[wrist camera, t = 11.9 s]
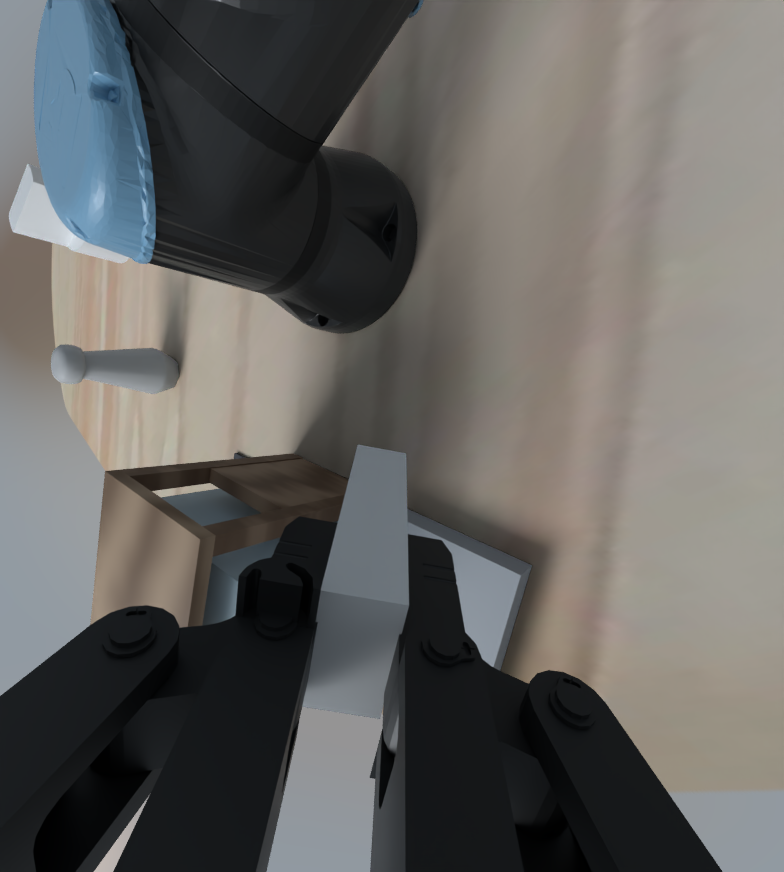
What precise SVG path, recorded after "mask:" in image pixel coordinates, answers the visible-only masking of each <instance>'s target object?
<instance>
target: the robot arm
mask: <svg viewBox="0 0 784 872" xmlns="http://www.w3.org/2000/svg"><path fill="white" fill-rule="evenodd" d="M422 4H423V0H48V1H47V3H46V6H45V10H44V13H43V17H42V20H41V25H40V30H39V35H38V42H37V50H36V60H35V78H34V120H35V134H36V143H37V151H38V158H39V163H40V168H41V173H42V178H43V181H44V185H45V188H46V191H47V194H48V197H49V200H50V202H51V204H52V207H53V209H54V210H55V212H56V214H57V216H58V217H59V219H60V220H61V221H62V223H63V224H64V225H65V226H66V227H67V228H68V229H69V230H70V231H71V232H72V233H73V234H74V235H76V236H77V237H78V238H80V239H82V240H84V241H85V242H87V243H90V244H92V245H95V246H98V247H101V248H104V249H107V250H110V251H112V252H115V253H118V254H121V255H124V256H126V257H129V258H132V259H133V260H134V261H136V262H138V263H142V264H147V263H150V264H154V265H158V266H161V267H165V268H169V269H173V270H176V271H180V272H184V273H188V274H192V275H195V276H199V277H203V278H207V279H210V280H214V281H218V282H221V283H225V284H229V285H232V286H236V287H240V288H243V289H247V290H251V291H255V292H258V293H262V294H265V295H266V296H268V297H269V298H270V299H272V300H273V301H274V302H276V303H277V304H278V305H280V306H281V307H282V308H284V309H285V310H286V311H288V312H289V313H290V314H292V315H293V316H294V317H296V318H297V319H298V320H300V321H301V322H303V323H304V324H306V325H308V326H310V327H313V328H316V329H319V330H324V331H328V332H333V333H350V332H354V331H358V330H360V329H363V328H365V327H367V326H368V325H370V324H372V323H373V322H374V321H376V320H377V319H378V318H379V317H381V316H382V315H383V314H384V313H385V312H386V311H387V310H388V309H389V307H390V306H391V305H392V304H393V302H394V301H395V300H396V298H397V297H398V295H399V293H400V292H401V290H402V288H403V286H404V284H405V282H406V280H407V277H408V275H409V272H410V269H411V266H412V263H413V259H414V254H415V248H416V239H417V224H416V215H415V210H414V206H413V202H412V199H411V197H410V195H409V192H408V190H407V189H406V187H405V185H404V184H403V182H402V181H401V180H400V179H399V178H398V177H397V176H396V175H395V174H394V173H393V172H392V171H390V170H389V169H388V168H387V167H385V166H384V165H383V164H382V163H380V162H379V161H377V160H376V159H374V158H372V157H370V156H368V155H365V154H362V153H358V152H353V151H348V150H343V149H337V148H332V147H327V146H322V144H323V143H324V142H325V140H326V139H327V137H328V136H329V134H330V133H331V131H332V130H333V128H334V127H335V125H336V124H337V122H338V121H339V119H340V118H341V116H342V115H343V113H344V112H345V110H346V109H347V107H348V106H349V104H350V103H351V101H352V100H353V98H354V97H355V95H356V94H357V92H358V91H359V89H360V88H361V86H362V85H363V83H364V82H365V80H366V79H367V78H368V76H369V75H370V73H371V72H372V70H373V69H374V67H375V66H376V64H377V63H378V61H379V60H380V58H381V57H382V55H383V54H384V52H385V51H386V49H387V48H388V46H389V45H390V43H391V42H392V40H393V39H394V37H395V36H396V34H397V33H398V31H399V30H400V28H401V27H402V25H403V24H404V22H405V21H406V19H407V18H408V17H409V18H411V17H413V16H414V15H415V14H416V13H417V12H418V11H419V9H420V8H421V6H422ZM456 582H457V581H456V575H455V572H454V563H453V557H452V553H451V552H450V551H449V549H448V548H447V547H446V545H445V544H444V543H443V541H442V540H439V539H433V538H427V537H422V536H416V535H410V534H408V521H407V467H406V453H401V452H396V451H391V450H385V449H380V448H375V447H369V446H364V445H358V446H357V450H356V453H355V457H354V461H353V465H352V469H351V473H350V477H349V481H348V485H347V489H346V493H345V497H344V501H343V504H342V508H341V512H340V516H339V520H338V523H335V522H329V521H323V520H318V519H312V518H306V517H301V516H299V517H298V518H296V519H295V520H293V521H292V522H291V523H289V524H288V525H287V526H285V529H284V531H283V533H282V535H281V537H280V540H279V543H278V544H277V546H276V548H275V551H274V554H273V555H272V557H271V558H266V559H261V560H258V561H256V562H254V563H252V564H250V565H248V566H247V567H246V568H245V569H244V570H243V571H242V572H241V574H240V575H239V578H238V590H237V602H236V613H235V616H234V617H232V618H230V619H228V620H225V621H222V622H219V623H215V624H209V625H202V626H191V627H180V628H179V624H178V622H177V620H176V618H175V616H174V615H172V614H171V613H169V612H168V611H166V610H165V609H163V608H159V607H154V606H149V605H144V606H131V607H126V608H123V609H120V610H117V611H114V612H111V613H109V614H107V615H106V616H104V617H102V618H101V619H99V620H97V621H95V622H94V623H93V624H91V625H90V626H89V627H87V628H86V629H85V630H84V631H82V632H81V633H80V634H79V635H77V636H76V637H75V638H74V639H72V640H71V641H70V642H68V643H67V644H66V645H65V646H63V647H62V648H61V649H60V650H58V651H57V652H56V653H55V654H53V655H52V656H51V657H49V658H48V659H47V660H46V661H45V662H43V663H42V664H41V665H39V666H38V667H37V668H35V669H34V670H33V671H32V672H31V673H29V674H28V675H27V676H25V677H24V678H23V679H22V680H20V681H19V682H18V683H16V684H15V685H14V686H13V687H11V688H10V689H9V690H8V691H6V692H5V693H4V694H2V695H1V696H0V872H93V871H94V870H95V869H96V868H97V866H98V865H99V863H100V862H101V861H102V859H103V858H104V857H105V855H106V854H107V852H108V851H109V850H110V848H111V847H112V846H113V844H114V843H115V841H116V840H117V839H118V837H119V836H120V835H121V833H122V832H123V830H124V829H125V828H126V826H127V825H128V823H129V822H130V821H131V819H132V818H133V817H134V815H135V814H136V812H137V811H138V810H139V808H140V807H141V806H142V804H143V803H144V801H145V800H146V799H147V797H148V796H149V795H150V796H149V798H148V800H147V802H146V804H145V806H144V808H143V811H142V813H141V815H140V817H139V819H138V821H137V823H136V825H135V827H134V829H133V831H132V834H131V836H130V838H129V840H128V842H127V844H126V846H125V848H124V850H123V852H122V855H121V857H120V859H119V861H118V863H117V865H116V867H115V869H114V871H113V872H266V871H267V866H268V862H269V857H270V852H271V848H272V844H273V839H274V835H275V830H276V826H277V821H278V817H279V813H280V808H281V803H282V799H283V795H284V790H285V786H286V781H287V777H288V772H289V768H290V763H291V759H292V754H293V750H294V746H295V741H296V736H297V730H298V724H299V718H300V714H301V709H302V707H307V708H314V709H320V710H327V711H333V712H339V713H345V714H351V715H358V716H364V717H370V718H377V719H380V716H381V713H382V709H383V705H384V709H383V729H382V733H381V737H380V740H379V744H378V748H377V752H376V756H375V759H374V763H373V767H372V771H371V775H370V778H374V779H375V798H374V815H373V833H372V834H373V835H372V851H371V852H372V853H371V868H370V869H371V870H370V872H722V870H721V869H720V867H719V866H718V865H717V863H716V862H715V860H714V859H713V857H712V856H711V854H710V853H709V852H708V850H707V849H706V847H705V846H704V844H703V843H702V842H701V840H700V839H699V837H698V836H697V834H696V833H695V831H694V830H693V829H692V827H691V826H690V824H689V823H688V821H687V820H686V818H685V817H684V815H683V814H682V813H681V811H680V810H679V808H678V807H677V805H676V804H675V802H674V801H673V800H672V798H671V797H670V795H669V794H668V792H667V791H666V789H665V788H664V787H663V785H662V784H661V782H660V781H659V779H658V778H657V776H656V775H655V774H654V772H653V771H652V769H651V768H650V766H649V765H648V763H647V762H646V761H645V759H644V758H643V756H642V755H641V753H640V752H639V750H638V749H637V747H636V746H635V745H634V743H633V742H632V740H631V739H630V737H629V736H628V734H627V733H626V732H625V730H624V729H623V727H622V726H621V724H620V723H619V721H618V720H617V719H616V717H615V716H614V714H613V713H612V711H611V710H610V708H609V707H608V706H607V704H606V703H605V702H604V701H603V700H602V698H601V697H600V696H599V695H598V694H597V693H596V692H595V691H594V690H593V689H592V688H591V687H589V686H588V685H587V684H585V683H584V682H582V681H581V680H580V679H578V678H576V677H573V676H571V675H569V674H566V673H564V672H558V671H551V670H548V671H544V672H541V673H537V674H536V675H535V677H534V678H533V679H532V680H531V681H530V683H529V684H528V683H525V682H523V681H521V680H519V679H517V678H514V677H512V676H510V675H508V674H505V673H503V672H501V671H499V670H498V669H496V668H494V667H492V666H491V665H489V664H488V663H487V662H485V661H484V660H483V659H482V657H481V654H480V652H479V650H478V647H477V645H476V643H475V642H474V641H473V640H472V639H471V638H470V637H469V636H468V634H467V633H465V627H464V621H463V616H462V610H461V604H460V598H459V592H458V586H457V584H456ZM150 793H151V794H150Z"/></svg>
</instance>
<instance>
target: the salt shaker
mask: <svg viewBox="0 0 784 872" xmlns="http://www.w3.org/2000/svg"><path fill="white" fill-rule="evenodd" d="M51 369H52V374H53V376H54V377H55V379H56V380H58V381H59V382H61V383H66V384H77V383H79V382H81V381H82V379H87V380H92V381H97V382H102V383H106V384H110V385H115V386H119V387H124V388H128V389H132V390H137V391H141V392H146V393H150V394H156V393H159V392H162V391H165V390H167V389H170V388H173V387H175V385H176V382H177V380H178V378H179V370H178V363H177V362H176V361H175V360H174V359H173V358H172V357H170V356H168V355H166V354H165V353H163V352H162V351H160V350H157V349H154V348H142V349H123V350H104V351H84V352H83V351H82V349H81V348H79V347H76V346H73V345H60V346H58V347H57V348H55V349H54V351H53V353H52V358H51Z"/></svg>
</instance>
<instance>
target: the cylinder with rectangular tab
mask: <svg viewBox="0 0 784 872" xmlns="http://www.w3.org/2000/svg"><path fill="white" fill-rule="evenodd" d="M9 220H10V225H11V228H12V230H13V232H15V233H18V234H22V235H26V236H30V237H33V238H37V239H41V240H45V241H48V242H52V243H56V244H59V245H63V246H67V247H68V248H69V249H70V250H72V251H75V252H79V253H83V254H86V255H90V256H94V257H98V258H102V259H106V260H109V261H113V262H117V263H124V262H126V261H127V260H128V259H129V257H126V256H124V255H121V254H118V253H115V252H112V251H110V250H107V249H104V248H101V247H98V246H95V245H92V244H90V243H87V242H85V241H84V240H82V239H80V238H78V237H77V236H76V235H74V234H73V233H72V232H71V231H70V230H69V229H68V228H67V227H66V226H65V225H64V224H63V223H62V221H61V220H60V219H59V217H58V216H57V214H56V212H55V210H54V209H53V207H52V204H51V202H50V200H49V197H48V194H47V191H46V188H45V185H44V181H43V178H42V173H41V168H39V167H36V166H34V165H31V164H27V167H26V170H25V172H24V175H23V178H22V180H21V183H20V186H19V188H18V191H17V194H16V196H15V199H14V202H13V204H12V207H11V210H10V212H9Z"/></svg>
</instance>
